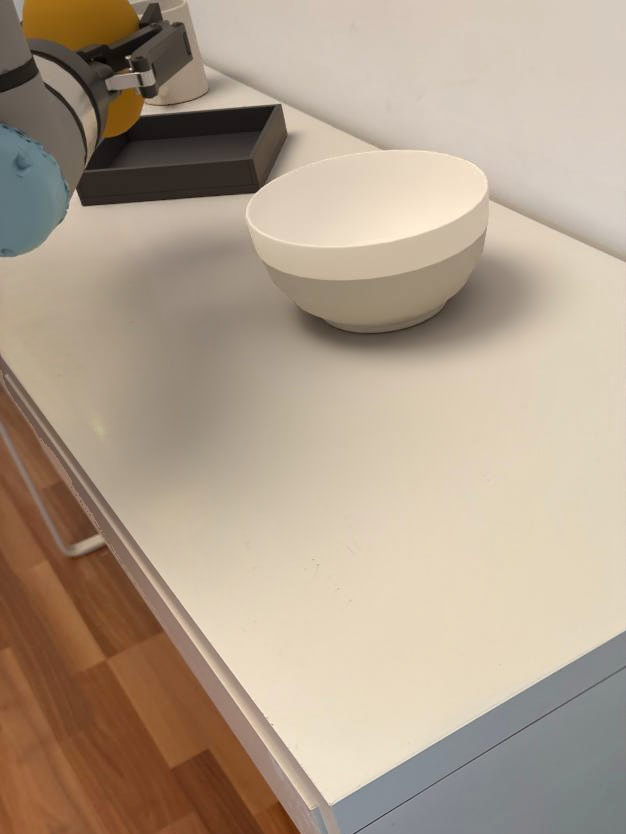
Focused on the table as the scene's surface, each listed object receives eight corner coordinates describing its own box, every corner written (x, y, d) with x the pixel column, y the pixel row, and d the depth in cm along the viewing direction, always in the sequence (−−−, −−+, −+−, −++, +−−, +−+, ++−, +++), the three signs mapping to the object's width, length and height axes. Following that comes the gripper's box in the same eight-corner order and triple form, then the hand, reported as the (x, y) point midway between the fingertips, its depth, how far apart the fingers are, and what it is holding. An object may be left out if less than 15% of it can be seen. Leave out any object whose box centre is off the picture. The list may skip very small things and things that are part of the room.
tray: (81, 206, 102) (69, 173, 100) (127, 147, 114) (117, 117, 112) (260, 192, 101) (252, 158, 99) (287, 134, 113) (281, 103, 111)
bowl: (224, 333, 80) (193, 226, 73) (357, 239, 90) (340, 139, 84) (417, 379, 72) (400, 264, 66) (537, 271, 83) (532, 163, 77)
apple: (195, 119, 83) (151, -46, 75) (104, 158, 78) (46, -15, 70) (124, 105, 88) (75, -52, 79) (34, 140, 83) (-29, -23, 74)
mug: (180, 80, 132) (157, -7, 125) (226, 88, 128) (204, -1, 121) (115, 104, 127) (87, 16, 120) (160, 114, 122) (134, 23, 115)
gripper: (-98, 193, 68) (-18, 95, 84) (220, 153, 68) (241, 63, 84) (-157, 73, 63) (-59, -7, 79) (189, 31, 63) (217, -41, 79)
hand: (96, 29), depth 81 cm, fingers closed on apple, 10 cm apart
